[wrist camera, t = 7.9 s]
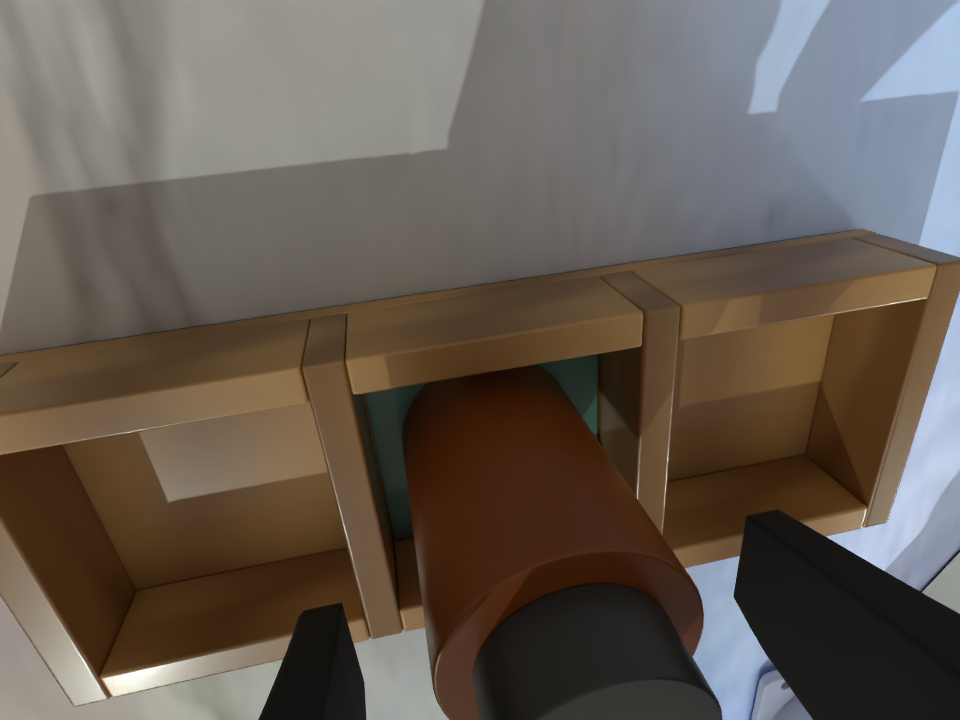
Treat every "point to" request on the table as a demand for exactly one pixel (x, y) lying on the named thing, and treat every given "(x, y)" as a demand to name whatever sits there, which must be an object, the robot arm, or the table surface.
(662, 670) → the spice bottle
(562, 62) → the table surface
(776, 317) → the spice tray
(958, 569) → the skate ramp
